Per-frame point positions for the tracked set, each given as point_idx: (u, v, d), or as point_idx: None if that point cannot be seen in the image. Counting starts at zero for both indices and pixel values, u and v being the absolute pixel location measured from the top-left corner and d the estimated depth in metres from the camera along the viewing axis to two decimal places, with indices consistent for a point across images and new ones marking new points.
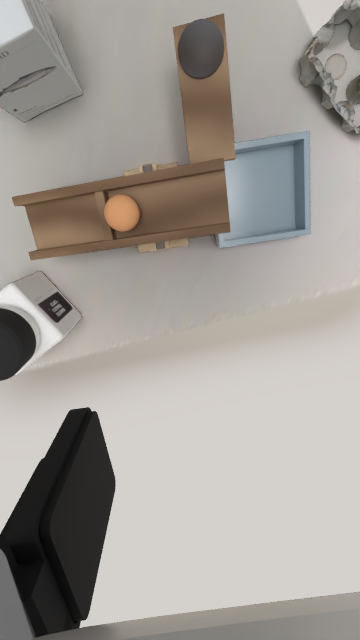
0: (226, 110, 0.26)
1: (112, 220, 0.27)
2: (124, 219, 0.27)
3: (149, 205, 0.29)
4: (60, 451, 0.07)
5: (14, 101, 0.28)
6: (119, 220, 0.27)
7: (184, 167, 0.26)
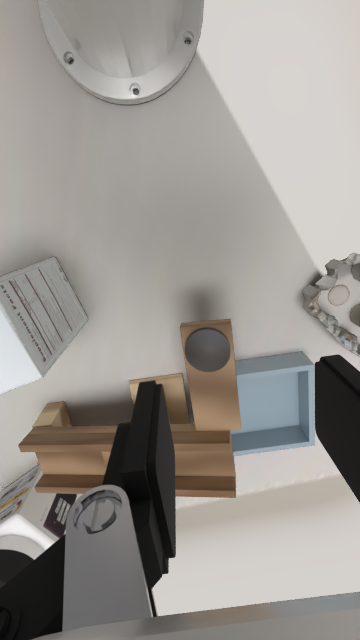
0: (232, 394, 0.26)
1: None
2: None
3: None
4: (144, 413, 0.08)
5: None
6: None
7: (190, 445, 0.27)
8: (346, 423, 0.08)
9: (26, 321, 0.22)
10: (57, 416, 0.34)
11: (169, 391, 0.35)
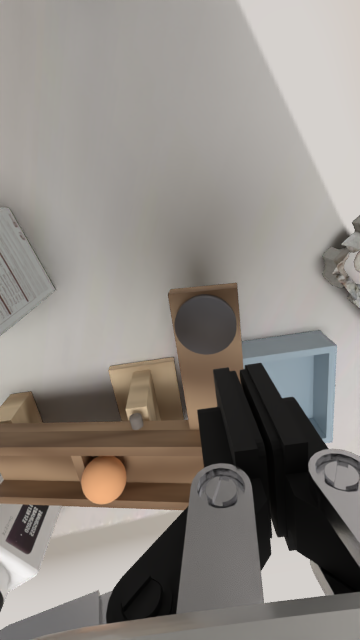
0: None
1: (91, 501, 0.22)
2: (106, 501, 0.22)
3: (138, 458, 0.24)
4: (232, 397, 0.08)
5: None
6: (100, 503, 0.22)
7: (182, 449, 0.21)
8: None
9: None
10: (20, 409, 0.28)
11: (158, 379, 0.29)
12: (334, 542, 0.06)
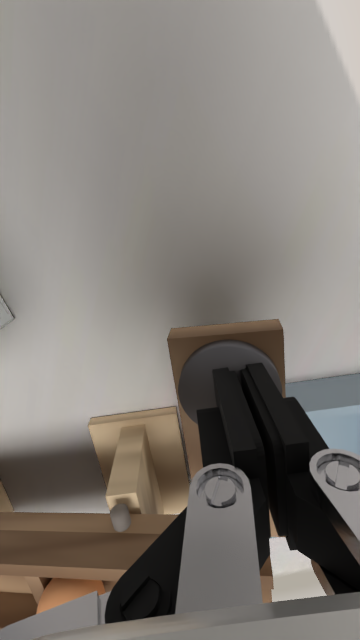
0: None
1: None
2: None
3: None
4: (231, 397, 0.08)
5: None
6: None
7: None
8: None
9: None
10: None
11: (155, 436, 0.21)
12: (335, 541, 0.06)
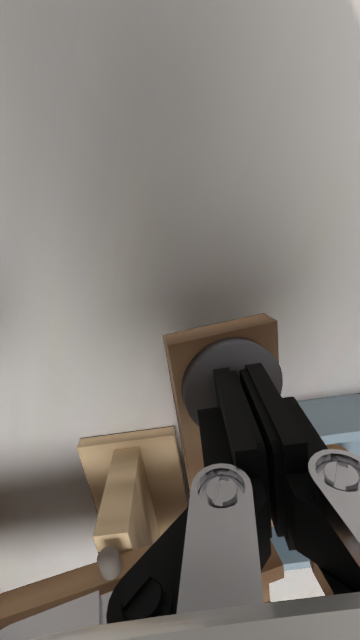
0: None
1: None
2: None
3: None
4: (232, 397, 0.08)
5: None
6: None
7: None
8: None
9: None
10: None
11: (151, 459, 0.19)
12: (334, 542, 0.06)
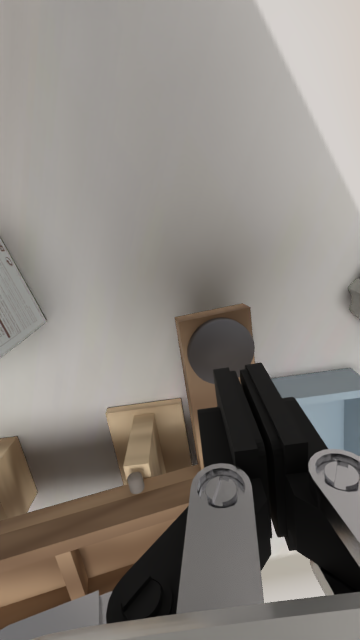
0: None
1: None
2: None
3: (141, 529, 0.19)
4: (232, 397, 0.08)
5: None
6: None
7: None
8: None
9: None
10: (2, 460, 0.24)
11: (163, 424, 0.25)
12: (334, 542, 0.06)
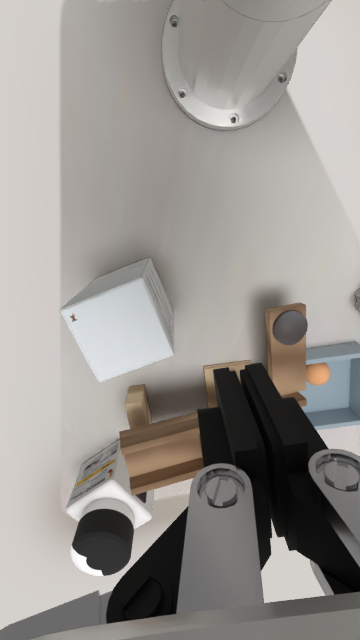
0: (302, 361, 0.34)
1: (321, 384, 0.38)
2: None
3: None
4: (232, 397, 0.08)
5: None
6: None
7: None
8: None
9: (159, 309, 0.27)
10: (143, 396, 0.39)
11: (239, 376, 0.40)
12: (334, 542, 0.06)
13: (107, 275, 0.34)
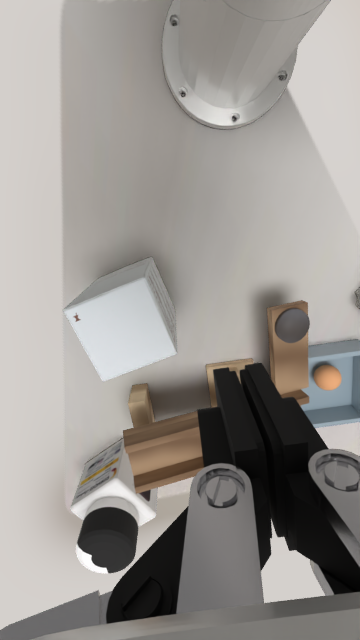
0: (304, 358, 0.34)
1: None
2: None
3: None
4: (232, 397, 0.08)
5: None
6: None
7: None
8: None
9: (162, 308, 0.27)
10: (146, 395, 0.39)
11: None
12: (334, 542, 0.06)
13: (109, 275, 0.34)
